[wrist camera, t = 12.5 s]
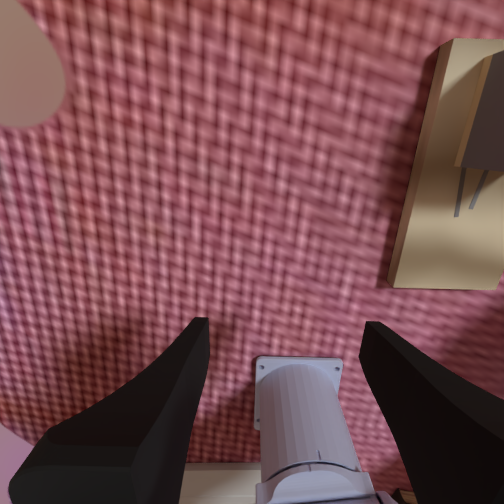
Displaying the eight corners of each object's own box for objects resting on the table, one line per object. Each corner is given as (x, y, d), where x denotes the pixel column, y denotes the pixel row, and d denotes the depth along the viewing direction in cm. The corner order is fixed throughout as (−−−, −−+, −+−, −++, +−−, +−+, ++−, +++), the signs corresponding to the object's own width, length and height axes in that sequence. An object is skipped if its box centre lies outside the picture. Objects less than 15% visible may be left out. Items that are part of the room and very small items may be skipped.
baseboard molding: (320, 514, 36) (326, 454, 32) (325, 544, 33) (333, 483, 29) (87, 515, 36) (63, 457, 32) (74, 545, 34) (45, 485, 29)
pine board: (483, 282, 22) (495, 290, 21) (386, 280, 22) (393, 287, 21) (572, 48, 16) (596, 41, 15) (440, 45, 16) (454, 37, 15)
